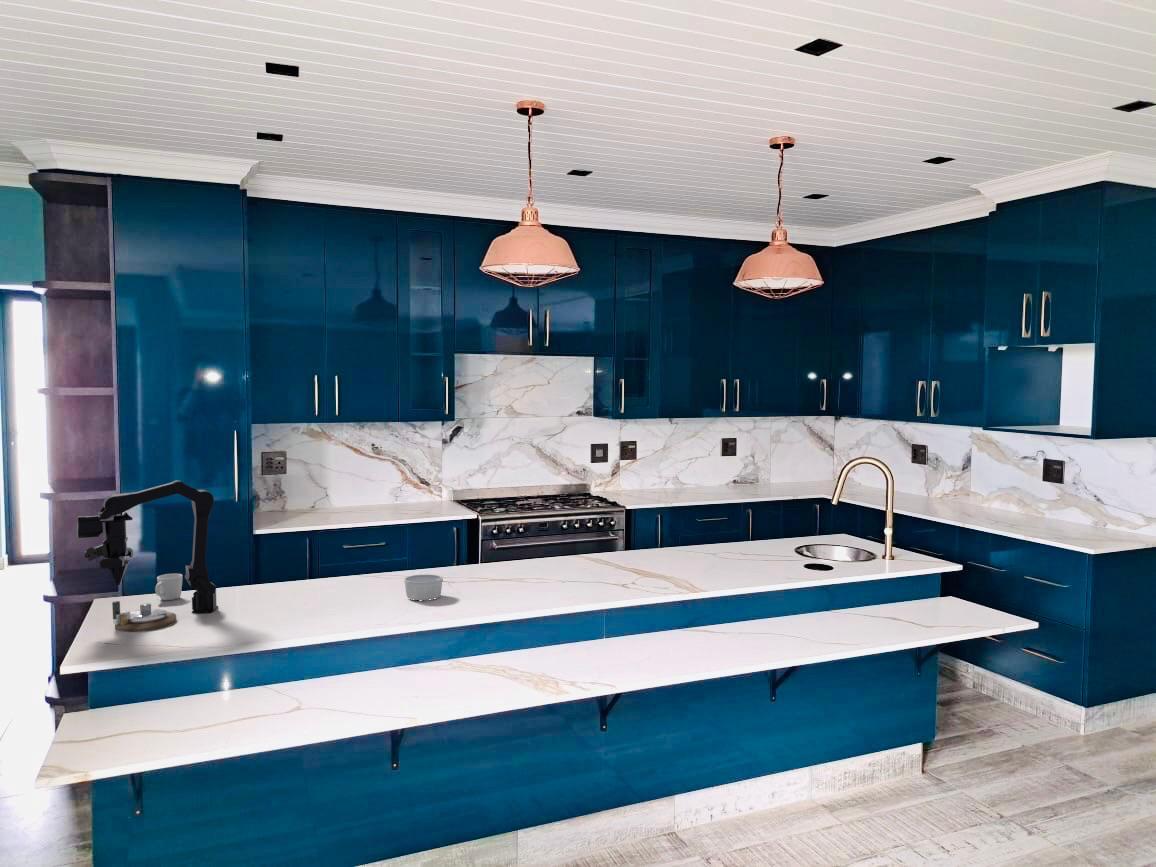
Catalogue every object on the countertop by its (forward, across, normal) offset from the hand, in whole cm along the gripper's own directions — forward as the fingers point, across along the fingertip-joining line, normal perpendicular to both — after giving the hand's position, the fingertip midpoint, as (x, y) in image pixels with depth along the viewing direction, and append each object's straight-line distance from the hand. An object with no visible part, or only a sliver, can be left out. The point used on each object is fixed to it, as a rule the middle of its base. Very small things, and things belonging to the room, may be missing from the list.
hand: (117, 585), depth 262 cm
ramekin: (+13, 0, +94) cm, 95 cm away
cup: (+12, -26, +10) cm, 31 cm away
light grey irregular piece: (+10, +5, +7) cm, 13 cm away
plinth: (+12, +4, +8) cm, 15 cm away
